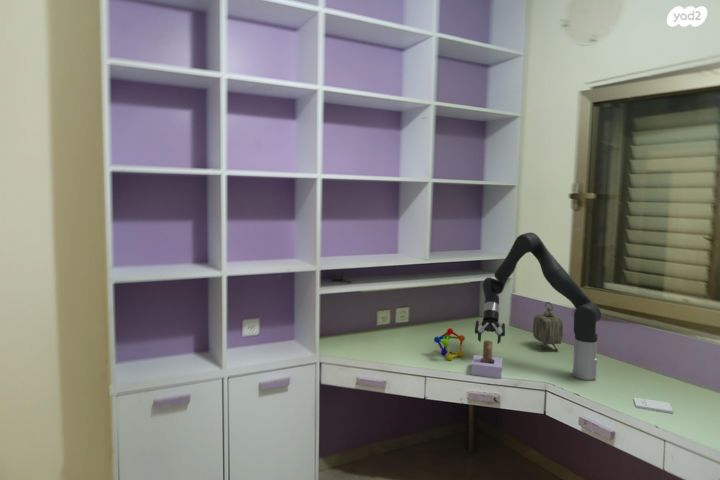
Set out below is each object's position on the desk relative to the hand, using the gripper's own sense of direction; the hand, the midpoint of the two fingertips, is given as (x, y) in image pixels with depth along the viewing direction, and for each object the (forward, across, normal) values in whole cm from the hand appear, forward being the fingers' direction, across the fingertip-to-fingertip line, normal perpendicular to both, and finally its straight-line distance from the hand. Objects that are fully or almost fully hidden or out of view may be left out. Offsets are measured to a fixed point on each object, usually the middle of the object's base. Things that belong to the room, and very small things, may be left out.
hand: (489, 341), depth 232 cm
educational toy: (+6, -20, +10) cm, 23 cm away
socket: (+15, 0, 0) cm, 15 cm away
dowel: (+15, 0, 0) cm, 15 cm away
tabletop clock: (-16, +28, +32) cm, 45 cm away
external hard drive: (+27, +64, -11) cm, 70 cm away
